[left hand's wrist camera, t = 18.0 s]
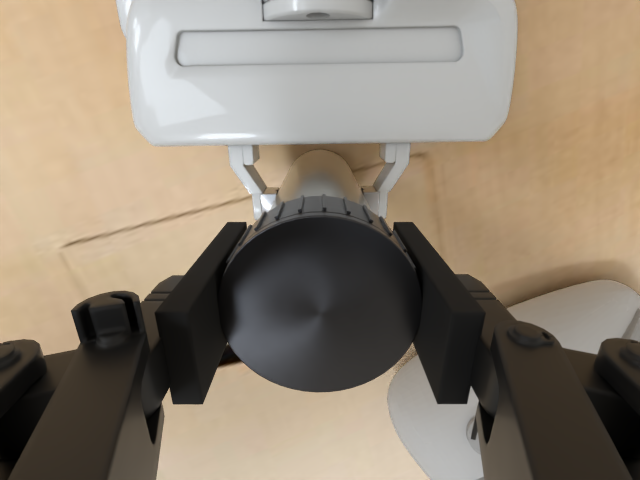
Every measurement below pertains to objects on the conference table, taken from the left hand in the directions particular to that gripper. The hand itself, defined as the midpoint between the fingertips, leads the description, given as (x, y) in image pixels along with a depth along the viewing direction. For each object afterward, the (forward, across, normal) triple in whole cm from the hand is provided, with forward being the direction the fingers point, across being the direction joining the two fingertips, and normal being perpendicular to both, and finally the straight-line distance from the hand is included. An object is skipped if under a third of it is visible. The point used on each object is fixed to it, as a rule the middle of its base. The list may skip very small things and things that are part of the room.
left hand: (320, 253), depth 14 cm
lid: (-4, 0, 0) cm, 4 cm away
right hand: (+8, 0, -1) cm, 8 cm away
